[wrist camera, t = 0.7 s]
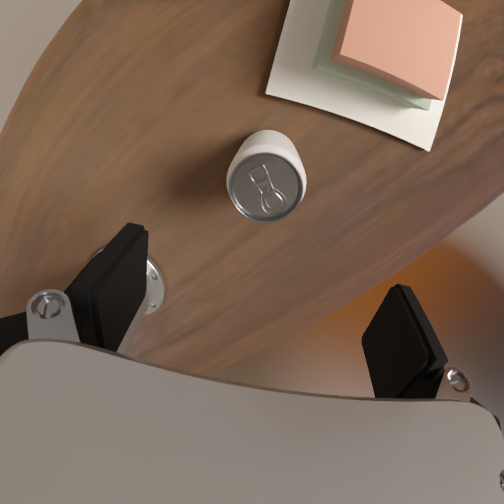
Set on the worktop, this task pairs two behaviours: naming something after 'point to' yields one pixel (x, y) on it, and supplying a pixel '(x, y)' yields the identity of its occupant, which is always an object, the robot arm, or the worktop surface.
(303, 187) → the can
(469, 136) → the worktop surface
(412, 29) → the tiered block pedestal
